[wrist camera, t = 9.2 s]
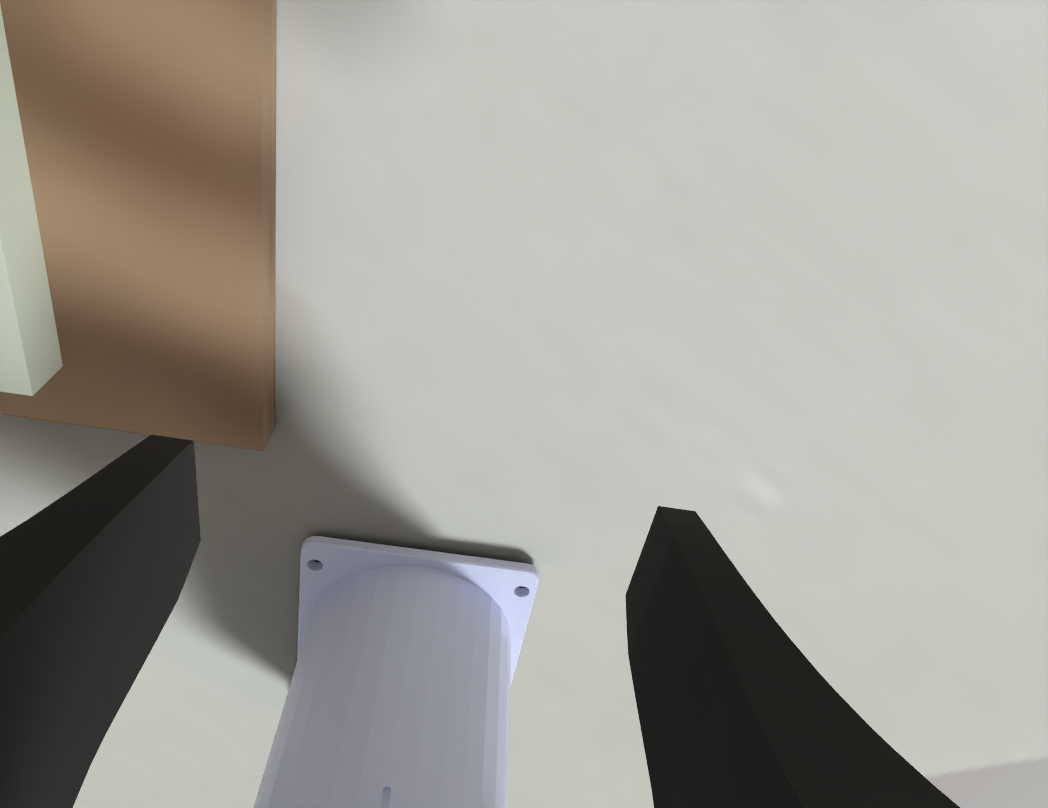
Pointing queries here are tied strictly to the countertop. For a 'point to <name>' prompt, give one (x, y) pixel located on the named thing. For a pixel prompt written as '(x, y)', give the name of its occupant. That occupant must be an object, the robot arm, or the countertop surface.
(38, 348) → the panel
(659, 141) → the countertop surface
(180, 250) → the board
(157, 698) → the countertop surface
